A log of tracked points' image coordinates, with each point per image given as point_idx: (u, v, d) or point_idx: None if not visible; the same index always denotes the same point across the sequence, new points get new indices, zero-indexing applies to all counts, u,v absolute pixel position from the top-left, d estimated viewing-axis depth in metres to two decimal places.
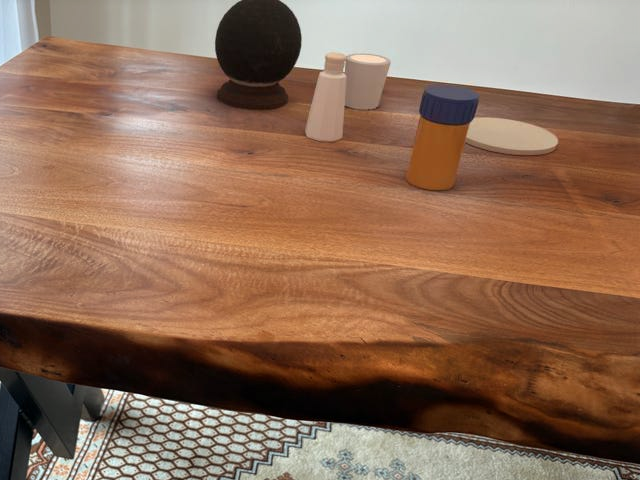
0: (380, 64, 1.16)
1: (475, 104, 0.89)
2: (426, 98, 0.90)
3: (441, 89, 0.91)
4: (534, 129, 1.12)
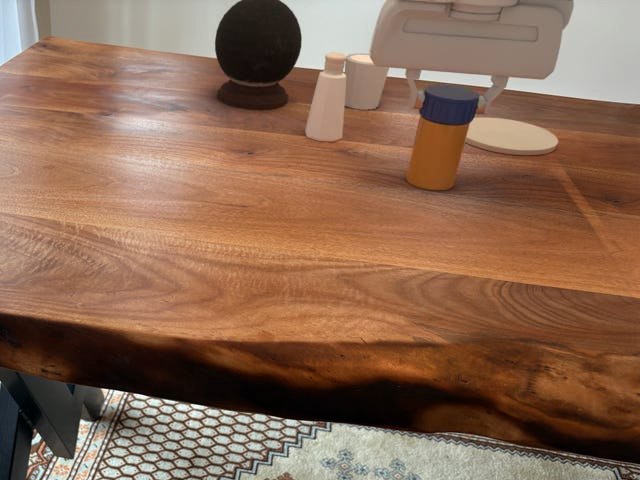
0: None
1: (475, 104, 0.89)
2: (426, 98, 0.90)
3: (441, 89, 0.91)
4: (534, 129, 1.12)
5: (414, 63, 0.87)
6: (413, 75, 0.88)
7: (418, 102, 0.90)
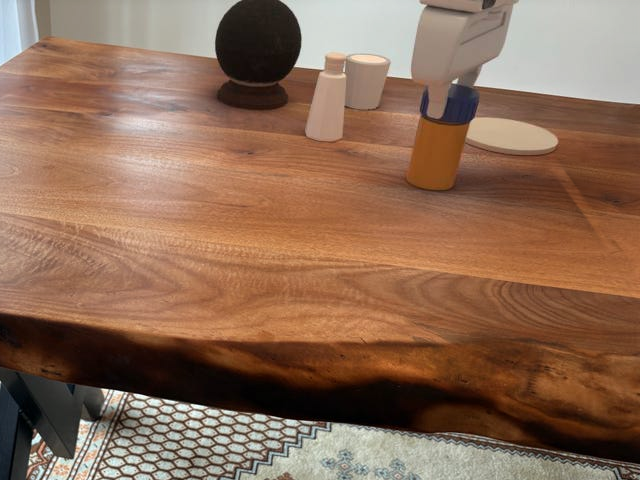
0: (380, 64, 1.16)
1: None
2: (450, 104, 0.88)
3: None
4: (534, 129, 1.12)
5: (458, 73, 0.83)
6: (449, 85, 0.85)
7: (445, 110, 0.88)
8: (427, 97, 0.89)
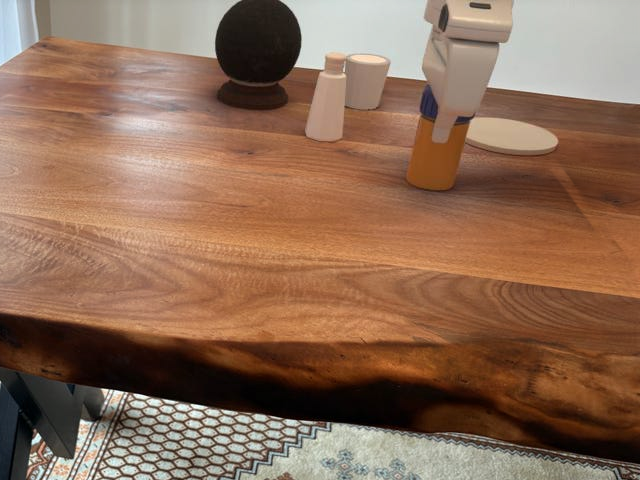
0: (380, 64, 1.16)
1: None
2: None
3: None
4: (534, 129, 1.12)
5: None
6: None
7: None
8: None
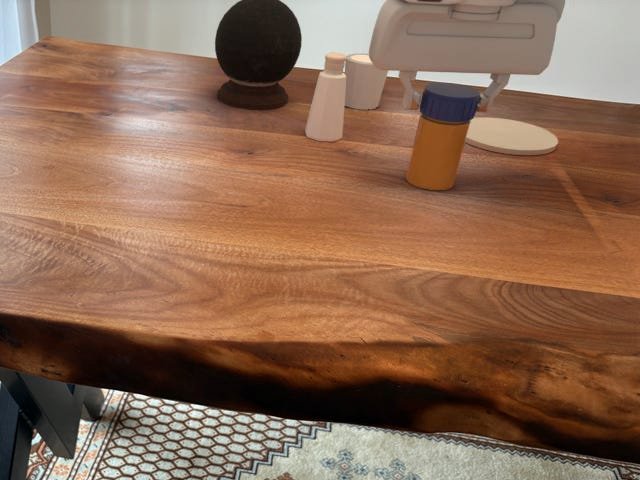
0: None
1: None
2: (463, 103, 0.88)
3: (446, 91, 0.89)
4: (534, 129, 1.12)
5: (417, 65, 0.87)
6: (409, 77, 0.88)
7: (414, 103, 0.90)
8: (435, 100, 0.88)
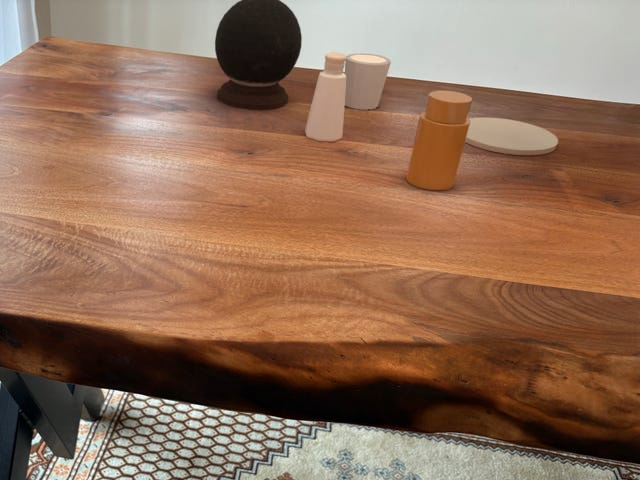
0: (380, 64, 1.16)
1: None
2: None
3: None
4: (534, 129, 1.12)
5: None
6: None
7: None
8: None
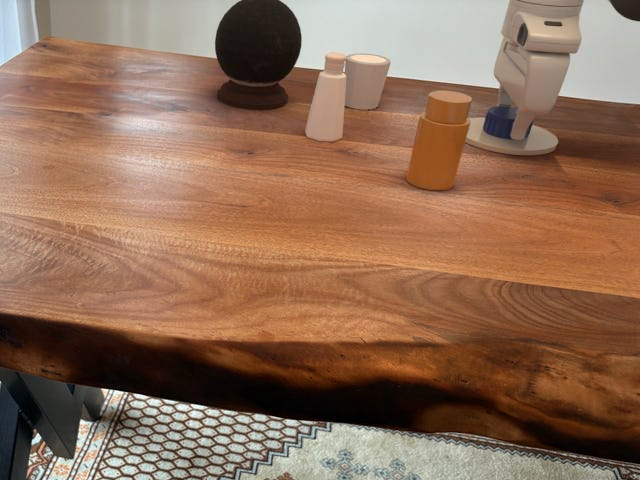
0: (380, 64, 1.16)
1: None
2: None
3: None
4: (534, 129, 1.12)
5: None
6: None
7: None
8: None
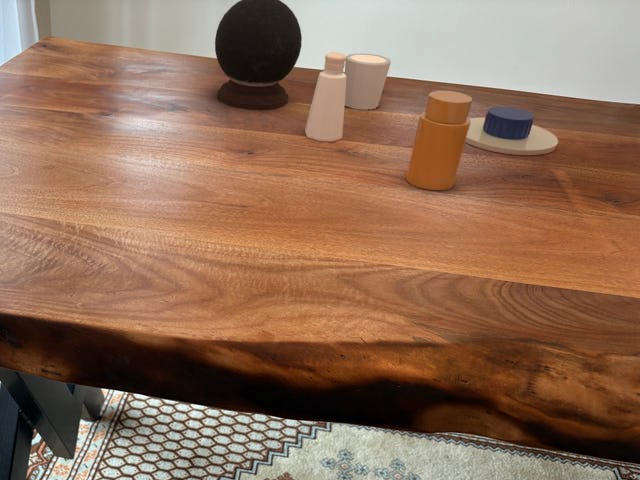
0: (380, 64, 1.16)
1: None
2: None
3: (519, 115, 1.08)
4: (534, 129, 1.12)
5: None
6: None
7: None
8: (529, 123, 1.07)
